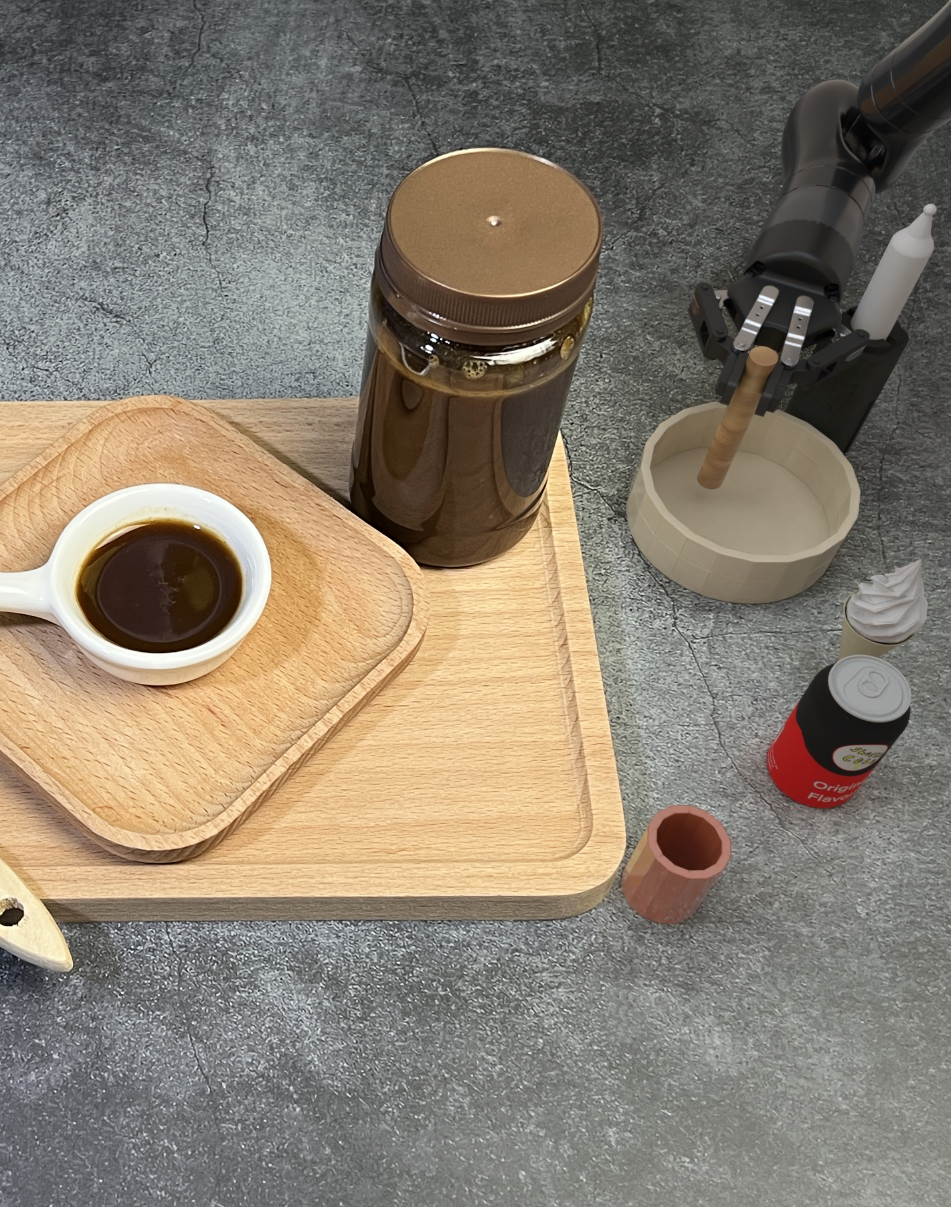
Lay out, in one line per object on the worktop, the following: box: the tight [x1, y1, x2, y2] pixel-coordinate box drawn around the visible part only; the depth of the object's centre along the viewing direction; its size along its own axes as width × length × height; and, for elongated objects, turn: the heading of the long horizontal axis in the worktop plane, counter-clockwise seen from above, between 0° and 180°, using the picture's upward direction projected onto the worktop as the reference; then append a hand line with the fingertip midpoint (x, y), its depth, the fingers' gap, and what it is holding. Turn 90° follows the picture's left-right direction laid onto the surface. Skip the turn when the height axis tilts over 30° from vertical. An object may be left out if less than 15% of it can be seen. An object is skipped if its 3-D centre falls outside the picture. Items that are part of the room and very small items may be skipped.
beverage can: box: [766, 655, 912, 809], centre depth 98 cm, size 6×6×12 cm
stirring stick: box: [697, 346, 778, 489], centre depth 110 cm, size 2×2×14 cm
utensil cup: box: [621, 804, 732, 925], centre depth 95 cm, size 5×5×8 cm
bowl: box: [625, 401, 861, 605], centre depth 114 cm, size 16×16×6 cm
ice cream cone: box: [837, 558, 929, 662], centre depth 102 cm, size 5×5×15 cm
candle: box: [784, 203, 937, 455], centre depth 111 cm, size 5×5×25 cm
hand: (745, 401), depth 104 cm, fingers closed on stirring stick, 2 cm apart
